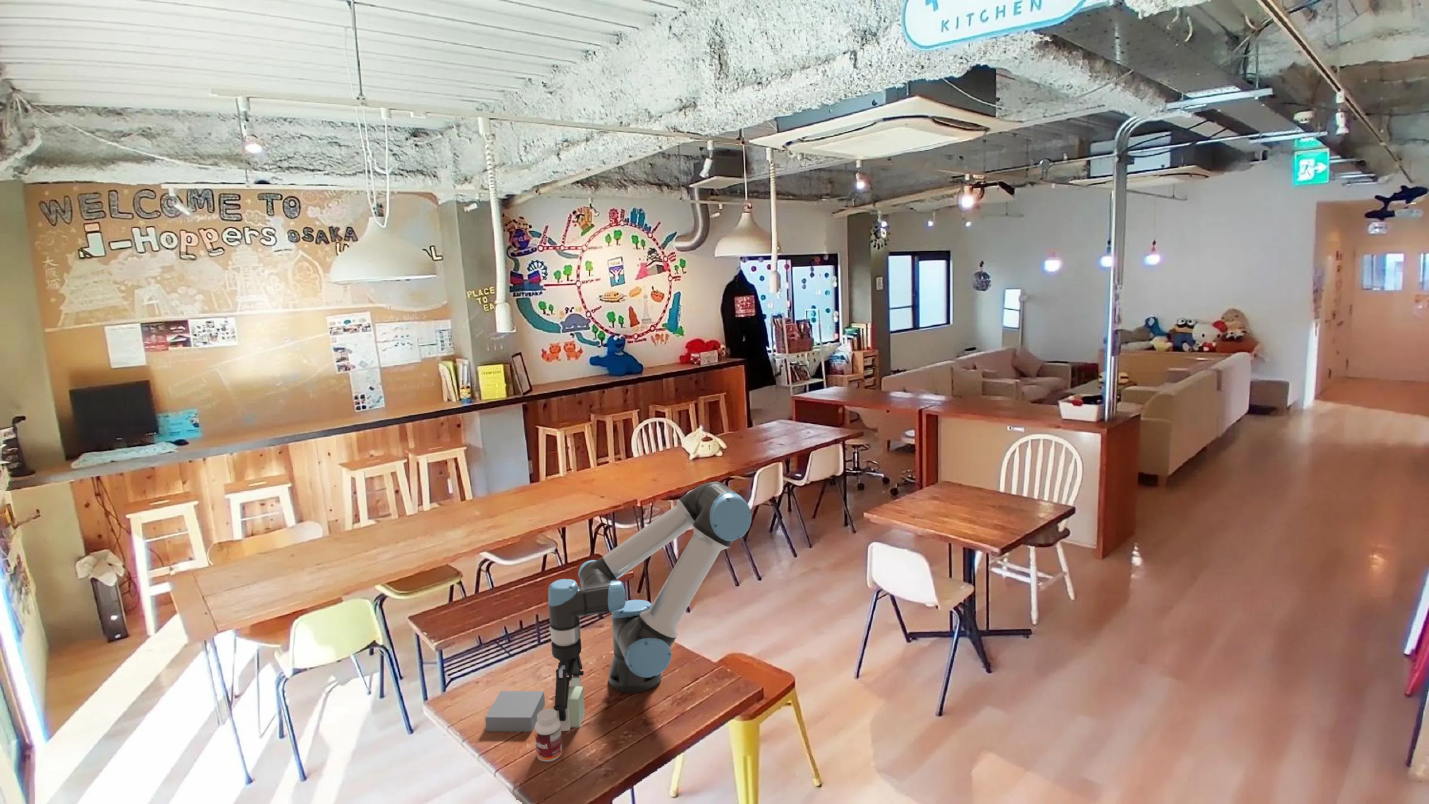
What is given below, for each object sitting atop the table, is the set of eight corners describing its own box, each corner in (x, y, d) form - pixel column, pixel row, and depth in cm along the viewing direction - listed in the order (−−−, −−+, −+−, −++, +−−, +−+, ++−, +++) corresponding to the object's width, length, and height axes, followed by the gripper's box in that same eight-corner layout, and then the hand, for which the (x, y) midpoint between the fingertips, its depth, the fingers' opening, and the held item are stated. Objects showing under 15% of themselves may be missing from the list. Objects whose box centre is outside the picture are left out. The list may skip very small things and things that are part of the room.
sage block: (585, 713, 197) (583, 686, 196) (579, 727, 192) (578, 699, 190) (562, 713, 198) (561, 686, 196) (557, 727, 192) (555, 699, 190)
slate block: (544, 704, 202) (543, 691, 201) (532, 731, 190) (531, 717, 189) (501, 704, 203) (500, 690, 202) (486, 731, 191) (485, 717, 190)
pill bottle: (531, 755, 181) (528, 715, 179) (551, 743, 185) (549, 703, 183) (547, 766, 177) (544, 724, 175) (567, 753, 181) (564, 712, 179)
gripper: (563, 616, 203) (568, 687, 207) (538, 664, 178) (543, 743, 182) (590, 616, 203) (594, 687, 206) (568, 664, 178) (573, 744, 182)
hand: (570, 714), depth 194 cm, fingers open, 13 cm apart
